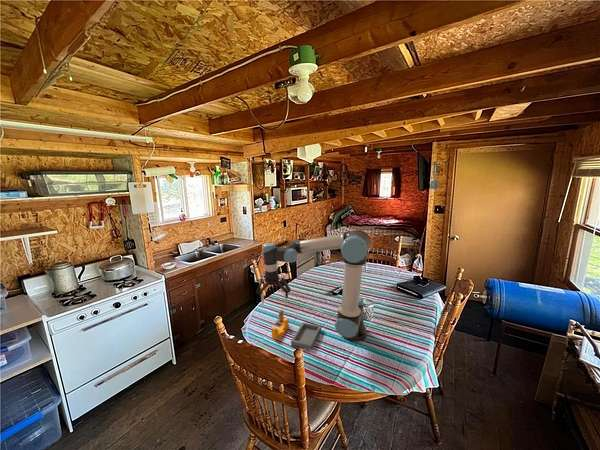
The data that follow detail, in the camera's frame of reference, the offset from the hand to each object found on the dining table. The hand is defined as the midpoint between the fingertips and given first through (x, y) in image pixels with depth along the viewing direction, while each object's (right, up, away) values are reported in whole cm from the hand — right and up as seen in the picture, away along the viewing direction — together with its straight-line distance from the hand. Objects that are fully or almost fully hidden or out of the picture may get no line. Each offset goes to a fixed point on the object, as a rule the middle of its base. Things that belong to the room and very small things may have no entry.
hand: (274, 302), depth 146 cm
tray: (+19, -20, -2) cm, 28 cm away
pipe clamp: (+4, -20, +4) cm, 21 cm away
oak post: (+3, -17, +14) cm, 22 cm away
